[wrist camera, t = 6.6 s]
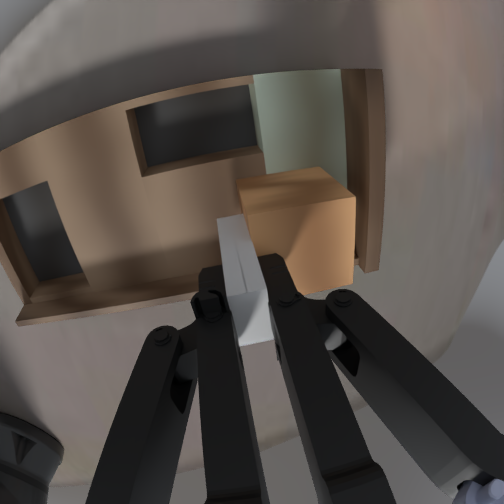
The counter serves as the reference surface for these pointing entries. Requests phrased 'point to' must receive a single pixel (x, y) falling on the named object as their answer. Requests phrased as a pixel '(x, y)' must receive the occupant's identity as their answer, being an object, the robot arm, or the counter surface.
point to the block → (302, 225)
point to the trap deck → (176, 185)
